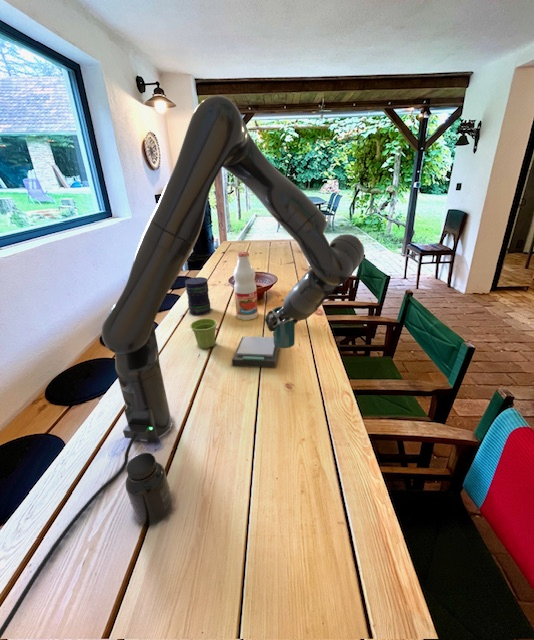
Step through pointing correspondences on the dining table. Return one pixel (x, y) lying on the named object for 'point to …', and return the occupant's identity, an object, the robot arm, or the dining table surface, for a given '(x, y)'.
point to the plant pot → (204, 332)
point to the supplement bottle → (148, 489)
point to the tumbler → (284, 333)
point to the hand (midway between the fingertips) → (280, 325)
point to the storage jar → (198, 296)
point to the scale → (255, 352)
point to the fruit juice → (245, 288)
